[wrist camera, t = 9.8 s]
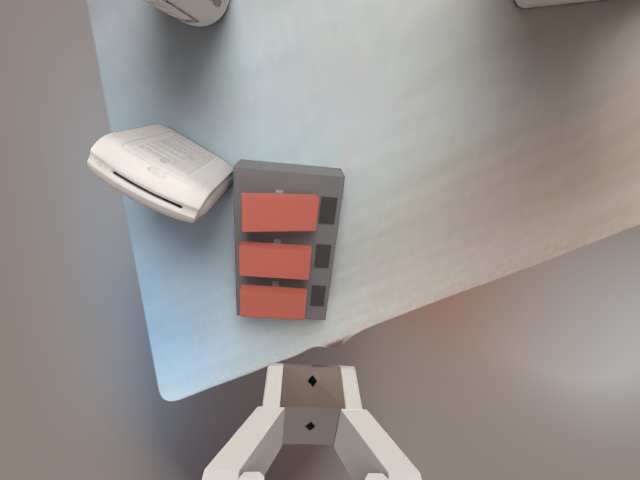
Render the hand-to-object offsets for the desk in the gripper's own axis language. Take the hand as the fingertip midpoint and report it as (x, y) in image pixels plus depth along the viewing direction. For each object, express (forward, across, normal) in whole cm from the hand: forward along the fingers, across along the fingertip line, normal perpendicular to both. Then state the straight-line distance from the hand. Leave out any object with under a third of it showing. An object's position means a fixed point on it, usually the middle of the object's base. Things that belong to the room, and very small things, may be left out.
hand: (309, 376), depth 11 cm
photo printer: (+29, +14, -1) cm, 32 cm away
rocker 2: (+24, +3, +9) cm, 26 cm away
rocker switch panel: (+29, +2, +9) cm, 30 cm away
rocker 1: (+24, +3, +3) cm, 25 cm away
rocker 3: (+24, +3, +15) cm, 29 cm away
